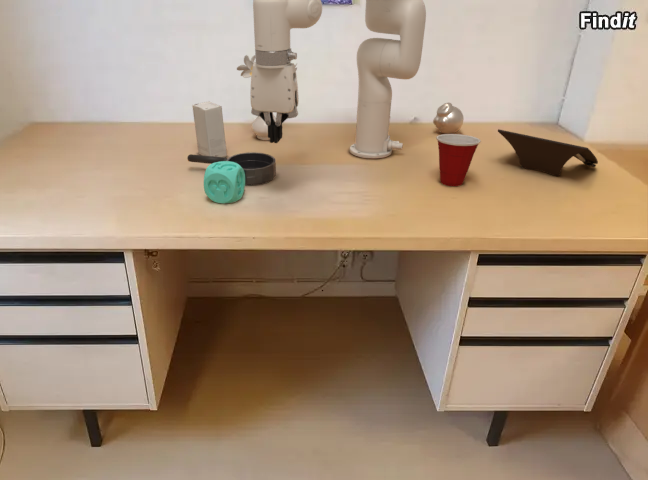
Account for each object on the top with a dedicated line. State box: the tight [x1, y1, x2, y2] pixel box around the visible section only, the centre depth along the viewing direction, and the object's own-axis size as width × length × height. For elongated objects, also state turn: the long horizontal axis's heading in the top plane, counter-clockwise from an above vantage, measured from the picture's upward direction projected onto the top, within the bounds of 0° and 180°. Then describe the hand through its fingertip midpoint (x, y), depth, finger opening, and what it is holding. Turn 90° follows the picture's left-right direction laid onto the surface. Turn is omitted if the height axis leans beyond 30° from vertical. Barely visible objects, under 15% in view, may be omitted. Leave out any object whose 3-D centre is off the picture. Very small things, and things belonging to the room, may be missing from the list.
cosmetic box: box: [191, 100, 228, 158], centre depth 160 cm, size 8×6×15 cm
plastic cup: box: [435, 133, 482, 187], centre depth 142 cm, size 11×11×12 cm
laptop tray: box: [497, 128, 599, 177], centre depth 151 cm, size 23×23×9 cm
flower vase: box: [236, 54, 298, 141], centre depth 172 cm, size 13×18×25 cm
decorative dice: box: [203, 161, 246, 204], centre depth 135 cm, size 8×8×8 cm
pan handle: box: [186, 154, 228, 165], centre depth 150 cm, size 12×2×2 cm, turn 74°
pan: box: [226, 151, 277, 186], centre depth 148 cm, size 13×13×4 cm
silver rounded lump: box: [432, 102, 464, 135], centre depth 177 cm, size 9×10×10 cm
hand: (275, 141), depth 128 cm, fingers closed
